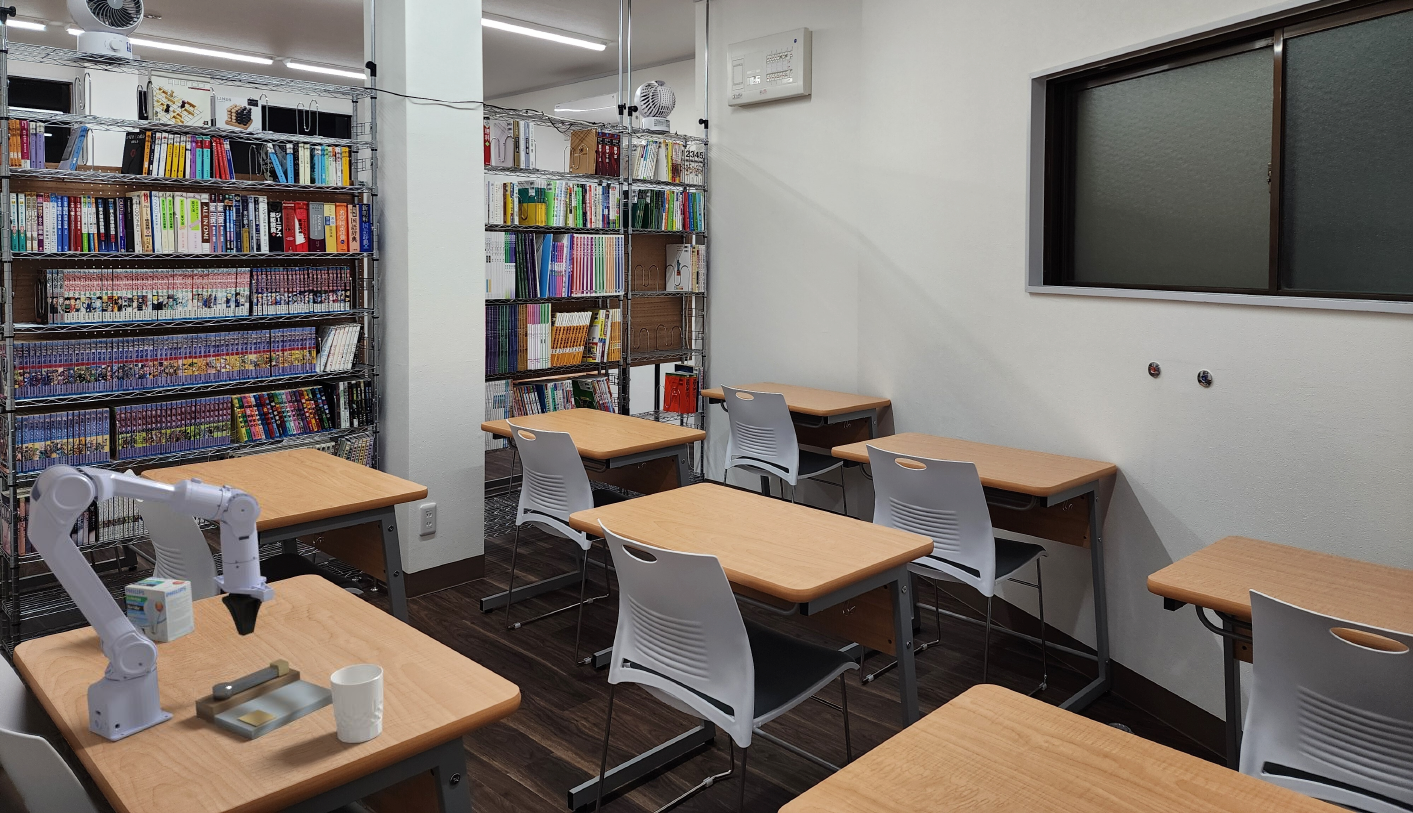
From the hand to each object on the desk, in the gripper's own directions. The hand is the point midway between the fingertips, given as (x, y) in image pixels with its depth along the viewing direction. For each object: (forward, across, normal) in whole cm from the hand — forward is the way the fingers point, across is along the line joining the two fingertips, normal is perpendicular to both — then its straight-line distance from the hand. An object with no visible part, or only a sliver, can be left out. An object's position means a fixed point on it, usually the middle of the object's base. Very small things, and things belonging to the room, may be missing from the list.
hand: (246, 633), depth 163 cm
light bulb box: (+11, +40, -7) cm, 42 cm away
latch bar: (+7, -5, +3) cm, 9 cm away
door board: (+10, -10, +3) cm, 15 cm away
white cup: (+11, -30, +1) cm, 32 cm away
